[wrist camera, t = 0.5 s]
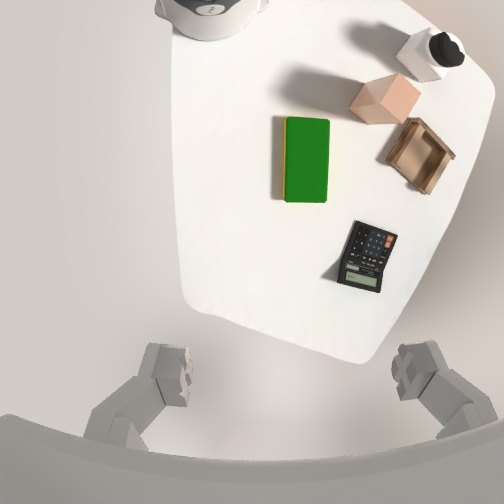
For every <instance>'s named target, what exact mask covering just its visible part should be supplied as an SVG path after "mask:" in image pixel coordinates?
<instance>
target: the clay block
mask: <svg viewBox="0 0 504 504" xmlns="http://www.w3.org/2000/svg"><path fill="white" fill-rule="evenodd" d="M420 94H421V93H420V92H419V91H418V90H417V89H416V88H415V87H414V86H413V85H412V84H411V83H410V82H409V81H407V80H406V79H405V78H404V77H403V76H402V75H401V74H400V73H397V74H393V75H390V76H387V77H383V78H380V79H377V80H374V81H370V82H367V83H365V84H364V85H363V87H362V88H361V90H360V91H359V93H358V95H357V96H356V98H355V99H354V101H353V102H352V104H351V105H350V107H349V108H348V109H349V110H350V111H352V112H353V113H354V114H355V115H357V116H358V117H359V118H360V119H362V120H363V121H364V122H365V123H367V124H368V125H370V124H403V123H404V121H405V120H406V118H407V116H408V115H409V113H410V111H411V110H412V108H413V106H414V105H415V103H416V101H417V100H418V98H419V96H420Z"/></svg>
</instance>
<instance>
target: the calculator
mask: <svg viewBox="0 0 504 504" xmlns="http://www.w3.org/2000/svg"><path fill="white" fill-rule="evenodd" d="M397 237H398V235H396V234H393V233H390V232H388V231H385V230H382V229H379V228H377V227H374V226H371V225H368V224H365V223H362V222H360V221H356V223H355V226H354V229H353V231H352V234H351V236H350V239H349V242H348V244H347V247H346V249H345V252H344V254H343V257H342V259H341V263H340V269H339V275H338V280H337V283H340V284H344V285H348V286H352V287H356V288H360V289H364V290H368V291H372V292H376V293H380V291H381V285H382V278H383V271H384V268H385V266H386V264H387V261H388V259H389V256H390V254H391V252H392V249H393V247H394V244H395V242H396V239H397Z"/></svg>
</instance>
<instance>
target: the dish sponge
mask: <svg viewBox="0 0 504 504" xmlns="http://www.w3.org/2000/svg"><path fill="white" fill-rule="evenodd" d="M329 137H330V121H329V120H328V119H317V118H302V117H286V118H285V119H284V159H283V199H284V200H285V201H286V202H305V203H325V202H326V201H327V185H328V165H329Z"/></svg>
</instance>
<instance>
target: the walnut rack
mask: <svg viewBox="0 0 504 504" xmlns="http://www.w3.org/2000/svg"><path fill="white" fill-rule="evenodd" d="M455 156H456V155H455V154H454V153H453V152H452V151H451V150H450V149H449V147H448V146H447V145H446V144H445V143H444V142H443V141H442V140H441V139H440V138H439V137H438V136H437V135H436V134H435V133H434V132H433V131H432V129H431V128H430V127H429V126H428V125H427V124H426V123H425V122H424V121H423V120H422V119H421V118H411V119H410V121H409V123H408V124H407V126H406V128H405V129H404V131H403V133H402V134H401V136H400V138H399V139H398V141H397V143H396V144H395V146H394V147H393V149H392V151H391V152H390V154H389V155H388V157H387V159H386V161H388V162H389V163H390V164H391V165H392V166H393V167H395V168H396V169H397V170H398V171H399V172H400V173H401V174H402V175H404V176H405V177H406V178H407V179H408V180H409V181H410V182H411V183H412V184H413V185H414V186H416V187H417V188H418V189H419V190H420V191H421V192H422V193H423V194H424V195H426V194H428V195H430V193H431V192H432V190H433V188H434V187H435V185H436V183H437V181H438V180H439V178H440V176H441V175H442V173H443V171H444V169H445V168H446V166H447V164H448V162H449V161H450V159H453V160H454V158H455Z"/></svg>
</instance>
